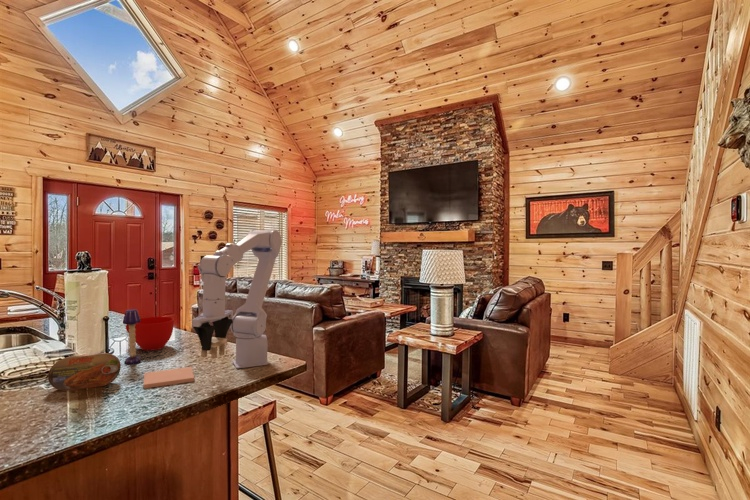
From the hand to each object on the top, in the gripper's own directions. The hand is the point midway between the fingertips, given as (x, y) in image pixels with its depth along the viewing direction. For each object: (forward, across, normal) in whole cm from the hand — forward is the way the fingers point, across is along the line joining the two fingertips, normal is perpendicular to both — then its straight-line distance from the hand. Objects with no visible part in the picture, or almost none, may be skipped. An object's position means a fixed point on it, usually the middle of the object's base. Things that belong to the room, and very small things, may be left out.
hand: (213, 347), depth 104 cm
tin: (+10, +14, -28) cm, 33 cm away
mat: (+9, +2, -12) cm, 16 cm away
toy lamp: (+10, -5, -34) cm, 35 cm away
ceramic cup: (+10, -19, -43) cm, 48 cm away
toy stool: (+2, 0, 0) cm, 2 cm away
